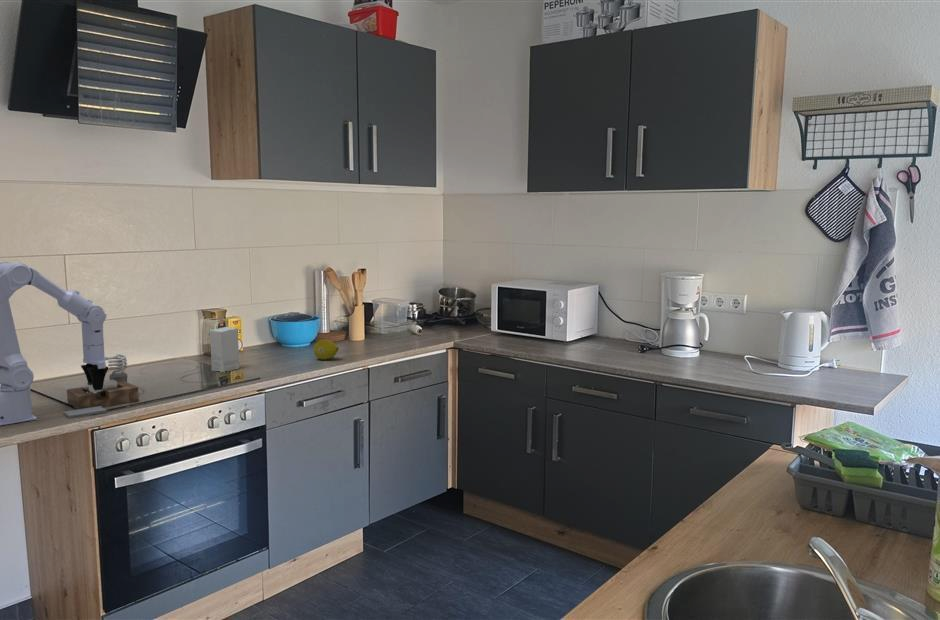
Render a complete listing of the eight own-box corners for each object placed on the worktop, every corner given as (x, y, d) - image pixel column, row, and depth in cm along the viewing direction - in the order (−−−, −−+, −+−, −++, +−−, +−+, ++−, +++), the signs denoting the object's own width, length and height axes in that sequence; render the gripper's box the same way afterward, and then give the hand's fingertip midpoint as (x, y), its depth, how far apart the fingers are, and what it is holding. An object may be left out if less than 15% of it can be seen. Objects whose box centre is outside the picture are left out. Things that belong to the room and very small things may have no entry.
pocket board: (79, 411, 219) (78, 396, 219) (67, 403, 228) (66, 389, 227) (138, 401, 231) (138, 387, 230) (125, 394, 239) (124, 381, 239)
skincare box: (228, 367, 282) (226, 326, 281) (240, 369, 279) (239, 327, 277) (210, 371, 275) (208, 329, 273) (222, 373, 272) (221, 330, 270)
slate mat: (69, 418, 211) (69, 415, 211) (63, 414, 215) (63, 411, 215) (106, 412, 218) (106, 409, 218) (100, 408, 222) (100, 405, 222)
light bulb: (118, 392, 242) (116, 356, 240) (105, 391, 244) (103, 355, 242) (132, 389, 247) (130, 353, 245) (119, 387, 249) (117, 352, 247)
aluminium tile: (89, 393, 224) (88, 385, 224) (85, 390, 227) (84, 383, 227) (117, 389, 230) (116, 381, 229) (112, 386, 233) (112, 379, 232)
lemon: (308, 359, 297) (308, 340, 296) (322, 356, 303) (322, 337, 302) (328, 362, 291) (328, 342, 290) (342, 359, 297) (342, 339, 296)
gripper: (115, 346, 223) (117, 390, 225) (99, 340, 234) (102, 382, 235) (89, 348, 218) (92, 394, 220) (75, 342, 229) (77, 385, 231)
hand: (95, 388), depth 227 cm, fingers closed on aluminium tile, 4 cm apart
